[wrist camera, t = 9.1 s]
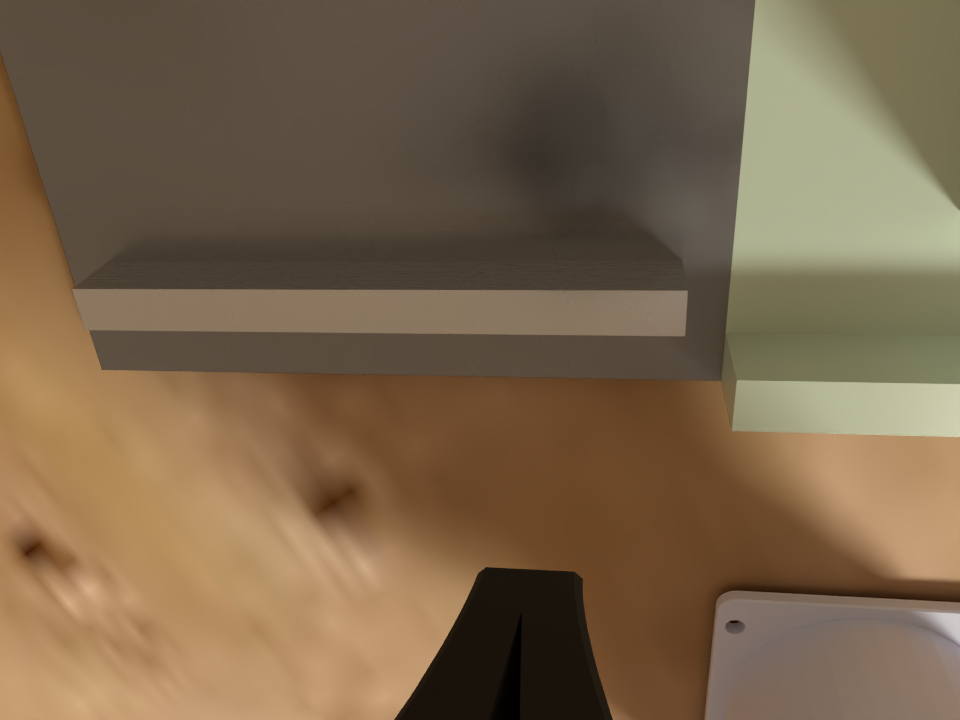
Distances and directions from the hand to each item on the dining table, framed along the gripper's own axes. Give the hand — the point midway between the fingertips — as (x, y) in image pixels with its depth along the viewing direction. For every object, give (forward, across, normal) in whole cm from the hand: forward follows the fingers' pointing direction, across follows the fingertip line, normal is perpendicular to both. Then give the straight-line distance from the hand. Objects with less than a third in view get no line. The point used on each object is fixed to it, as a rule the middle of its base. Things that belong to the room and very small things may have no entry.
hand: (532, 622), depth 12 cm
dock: (+9, +4, -5) cm, 11 cm away
